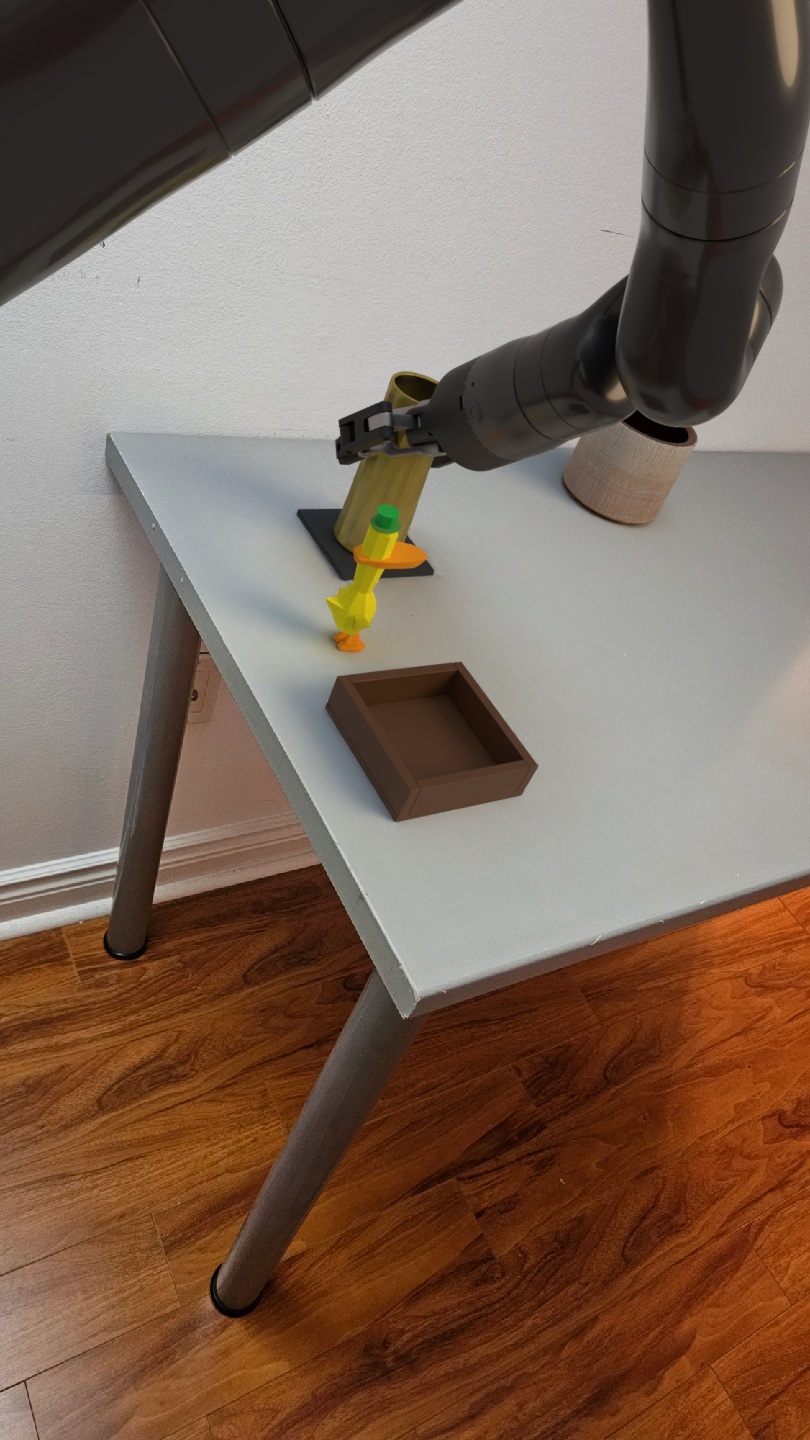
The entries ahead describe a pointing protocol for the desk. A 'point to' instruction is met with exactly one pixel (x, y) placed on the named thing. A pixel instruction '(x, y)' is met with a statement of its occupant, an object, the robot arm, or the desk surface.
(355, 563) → the mat
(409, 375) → the vase
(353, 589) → the toy figure
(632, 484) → the planter
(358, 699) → the tray
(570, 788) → the desk surface
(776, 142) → the robot arm
